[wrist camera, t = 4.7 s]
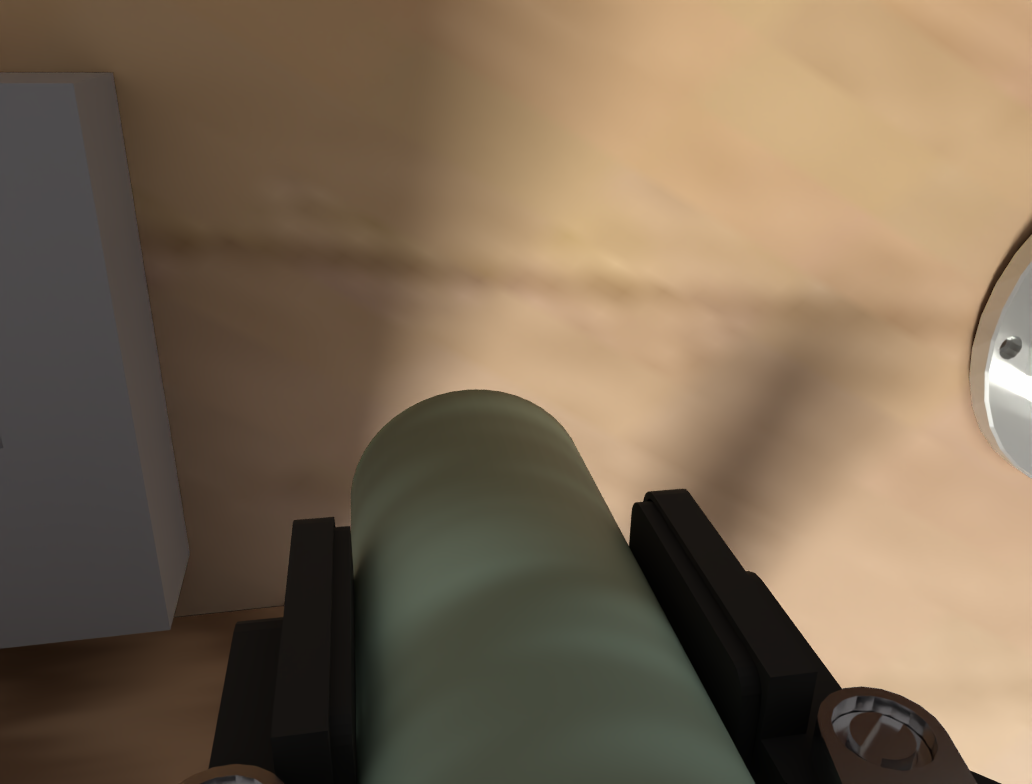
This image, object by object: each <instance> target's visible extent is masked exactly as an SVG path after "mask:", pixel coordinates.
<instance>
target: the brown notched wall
mask: <svg viewBox="0 0 1032 784" xmlns="http://www.w3.org/2000/svg"><path fill="white" fill-rule="evenodd" d="M283 614H284V606H278V607H268V608H259V609H250V610H240V611H231V612H222V613H212V614H203V615H194V616H185V617H175V618H173V621H172V625H171V629H170V630H165V631H156V632H147V633H138V634H129V635H120V636H111V637H101V638H92V639H83V640H74V641H65V642H56V643H47V644H38V645H29V646H20V647H11V648H1V649H0V784H179V783H181V782H182V781H184V780H185V779H187V778H189V777H190V776H192V775H194V774H197V773H200V772H202V771H205V770H208V768H209V762H210V757H211V752H212V746H213V741H214V735H215V730H216V724H217V719H218V713H219V708H220V702H221V697H222V692H223V686H224V681H225V675H226V670H227V664H228V659H229V653H230V648H231V642H232V637H233V632H234V628H235V624H236V623H237V622H238V621H247V620H258V619H268V618H278V617H283Z"/></svg>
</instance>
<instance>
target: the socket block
mask: <svg viewBox="0 0 1032 784" xmlns="http://www.w3.org/2000/svg"><path fill="white" fill-rule="evenodd" d="M189 555H190V551H189V545H188V538H187V532H186V526H185V520H184V513H183V507H182V501H181V495H180V488H179V482H178V476H177V470H176V463H175V457H174V451H173V445H172V438H171V432H170V426H169V420H168V413H167V407H166V401H165V395H164V388H163V382H162V376H161V370H160V363H159V357H158V351H157V345H156V338H155V332H154V326H153V320H152V313H151V307H150V301H149V295H148V288H147V282H146V276H145V270H144V263H143V257H142V251H141V245H140V238H139V232H138V226H137V220H136V213H135V207H134V201H133V195H132V188H131V182H130V176H129V170H128V163H127V157H126V151H125V145H124V138H123V132H122V126H121V120H120V113H119V107H118V101H117V95H116V88H115V82H114V76H113V73H93V72H0V649H1V648H11V647H20V646H29V645H38V644H47V643H56V642H65V641H74V640H83V639H92V638H101V637H111V636H120V635H129V634H138V633H147V632H156V631H165V630H170V629H171V625H172V621H173V618H174V614H175V610H176V606H177V602H178V598H179V594H180V590H181V586H182V582H183V578H184V574H185V570H186V566H187V563H188V559H189Z"/></svg>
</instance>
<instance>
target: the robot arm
mask: <svg viewBox="0 0 1032 784" xmlns="http://www.w3.org/2000/svg"><path fill="white" fill-rule="evenodd" d="M969 382H970V392H971V402H972V408H973V411H974V414H975V417H976V420H977V423H978V426H979V429H980V431H981V432H982V434H983V435H984V437H985V438H986V440H987V441H988V443H989V444H990V446H991V448H992V449H993V450H994V451H995V452H996V453H997V454H999V455H1000V456H1001V457H1002V458H1003V459H1004V460H1005V461H1006V462H1007V463H1009V464H1010V465H1011V466H1013V467H1014V468H1016V469H1018V470H1019V471H1021V472H1022V473H1024V474H1025V475H1027V476H1028V477H1030V478H1032V235H1031V236H1030V237H1029V238H1028V239H1027V240H1026V242H1025V243H1024V244H1023V245H1022V246H1021V248H1020V249H1019V250H1018V251H1017V252H1016V253H1015V255H1014V256H1013V258H1012V259H1011V261H1010V263H1009V264H1008V266H1007V267H1006V269H1005V270H1004V272H1003V274H1002V275H1001V277H1000V278H999V280H998V281H997V283H996V284H995V287H994V289H993V291H992V293H991V295H990V298H989V300H988V302H987V304H986V306H985V309H984V311H983V313H982V315H981V318H980V322H979V325H978V329H977V332H976V336H975V340H974V343H973V347H972V355H971V365H970V375H969ZM629 548H630V549H631V551H632V553H633V555H634V557H635V559H636V561H637V563H638V564H639V566H640V568H641V570H642V572H643V574H644V576H645V578H646V579H647V581H648V583H649V585H650V587H651V589H652V591H653V593H654V594H655V596H656V598H657V600H658V602H659V604H660V606H661V608H662V609H663V611H664V613H665V615H666V617H667V619H668V621H669V623H670V625H671V626H672V628H673V630H674V632H675V634H676V636H677V638H678V640H679V641H680V643H681V645H682V647H683V649H684V651H685V653H686V655H687V656H688V658H689V660H690V662H691V664H692V666H693V668H694V670H695V671H696V673H697V675H698V677H699V679H700V681H701V683H702V685H703V686H704V688H705V690H706V692H707V694H708V696H709V698H710V700H711V702H712V703H713V705H714V707H715V709H716V711H717V713H718V715H719V717H720V718H721V720H722V722H723V724H724V726H725V728H726V730H727V732H728V733H729V735H730V737H731V739H732V741H733V743H734V745H735V747H736V748H737V750H738V752H739V754H740V756H741V758H742V760H743V762H744V763H745V765H746V767H747V769H748V771H749V773H750V775H751V777H752V778H753V780H754V782H755V784H1001V783H998V782H996V781H994V780H991V779H989V778H987V777H984V776H982V775H979V774H977V773H975V772H972V771H970V770H969V769H968V767H967V765H966V763H965V762H964V760H963V758H962V757H961V755H960V753H959V752H958V750H957V748H956V747H955V745H954V743H953V741H952V740H951V738H950V736H949V735H948V733H947V732H946V730H945V729H944V728H943V726H942V725H941V724H940V723H939V721H938V720H937V719H936V718H935V717H934V716H933V715H931V714H930V713H929V712H928V711H926V710H925V709H924V708H923V707H921V706H920V705H918V704H916V703H915V702H913V701H911V700H909V699H907V698H905V697H903V696H901V695H898V694H895V693H892V692H889V691H886V690H883V689H877V688H869V687H851V688H843V689H842V688H841V687H840V686H839V684H838V683H837V681H836V680H835V679H834V677H833V676H832V675H831V673H830V672H829V671H828V669H827V668H826V667H825V665H824V664H823V662H822V661H821V660H820V658H819V657H818V656H817V654H816V653H815V652H814V650H813V649H812V648H811V646H810V645H809V643H808V642H807V641H806V639H805V638H804V637H803V635H802V634H801V633H800V631H799V630H798V629H797V627H796V626H795V624H794V623H793V622H792V620H791V619H790V618H789V616H788V615H787V614H786V612H785V611H784V609H783V608H782V607H781V605H780V604H779V603H778V601H777V600H776V599H775V597H774V596H773V595H772V593H771V592H770V590H769V589H768V588H767V586H766V585H765V584H764V582H763V581H762V580H761V579H760V578H759V577H758V576H757V575H756V574H755V573H753V572H750V571H745V570H744V568H743V567H742V566H741V564H740V563H739V561H738V560H737V559H736V557H735V556H734V554H733V553H732V552H731V550H730V549H729V547H728V546H727V545H726V543H725V542H724V541H723V539H722V538H721V536H720V535H719V534H718V532H717V531H716V529H715V528H714V527H713V525H712V524H711V522H710V521H709V520H708V518H707V517H706V515H705V514H704V513H703V511H702V510H701V509H700V507H699V506H698V504H697V503H696V502H695V500H694V499H693V497H692V496H691V495H690V493H689V492H688V491H687V490H686V489H675V490H663V491H650V492H647V493H646V494H645V497H644V501H643V502H636V503H634V505H633V508H632V515H631V528H630V542H629ZM179 784H357V749H356V677H355V605H354V570H353V557H352V543H351V530H350V526H345V527H335V520H334V517H327V518H315V519H302V520H294V521H293V528H292V537H291V547H290V556H289V566H288V575H287V585H286V594H285V604H284V614H283V617H278V618H268V619H258V620H247V621H238V622H237V623H236V624H235V628H234V632H233V637H232V642H231V648H230V653H229V659H228V664H227V670H226V675H225V681H224V686H223V692H222V697H221V702H220V708H219V713H218V719H217V724H216V730H215V735H214V741H213V746H212V752H211V757H210V762H209V768H208V770H205V771H202V772H200V773H197V774H194V775H192V776H190V777H189V778H187V779H185V780H184V781H182V782H181V783H179Z"/></svg>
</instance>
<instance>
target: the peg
mask: <svg viewBox="0 0 1032 784" xmlns="http://www.w3.org/2000/svg"><path fill="white" fill-rule="evenodd" d="M351 543H352V557H353V570H354V605H355V677H356V749H357V784H755V782H754V780H753V778H752V777H751V775H750V773H749V771H748V769H747V767H746V765H745V763H744V762H743V760H742V758H741V756H740V754H739V752H738V750H737V748H736V747H735V745H734V743H733V741H732V739H731V737H730V735H729V733H728V732H727V730H726V728H725V726H724V724H723V722H722V720H721V718H720V717H719V715H718V713H717V711H716V709H715V707H714V705H713V703H712V702H711V700H710V698H709V696H708V694H707V692H706V690H705V688H704V686H703V685H702V683H701V681H700V679H699V677H698V675H697V673H696V671H695V670H694V668H693V666H692V664H691V662H690V660H689V658H688V656H687V655H686V653H685V651H684V649H683V647H682V645H681V643H680V641H679V640H678V638H677V636H676V634H675V632H674V630H673V628H672V626H671V625H670V623H669V621H668V619H667V617H666V615H665V613H664V611H663V609H662V608H661V606H660V604H659V602H658V600H657V598H656V596H655V594H654V593H653V591H652V589H651V587H650V585H649V583H648V581H647V579H646V578H645V576H644V574H643V572H642V570H641V568H640V566H639V564H638V563H637V561H636V559H635V557H634V555H633V553H632V551H631V549H630V548H629V546H628V544H627V542H626V540H625V538H624V536H623V534H622V533H621V531H620V529H619V527H618V525H617V523H616V521H615V519H614V517H613V516H612V514H611V512H610V510H609V508H608V506H607V504H606V502H605V501H604V499H603V497H602V495H601V493H600V491H599V489H598V487H597V486H596V484H595V482H594V480H593V478H592V476H591V474H590V472H589V471H588V469H587V467H586V465H585V463H584V461H583V459H582V457H581V456H580V454H579V452H578V450H577V448H576V446H575V444H574V442H573V441H572V439H571V437H570V436H569V434H568V433H567V432H566V430H565V429H564V427H563V426H562V425H561V424H560V423H559V422H558V421H557V420H556V419H555V418H554V417H553V416H552V415H550V414H549V413H548V412H546V411H545V410H544V409H542V408H541V407H539V406H537V405H535V404H534V403H532V402H530V401H528V400H525V399H523V398H520V397H518V396H515V395H512V394H508V393H504V392H499V391H491V390H462V391H454V392H449V393H445V394H441V395H437V396H434V397H431V398H429V399H426V400H423V401H421V402H419V403H417V404H415V405H413V406H411V407H409V408H408V409H406V410H405V411H403V412H402V413H400V414H399V415H397V416H396V417H394V418H393V419H392V420H391V421H390V422H389V423H387V424H386V425H385V426H384V427H383V428H382V429H381V430H380V431H379V432H378V434H377V435H376V436H375V437H374V438H373V439H372V441H371V442H370V444H369V445H368V447H367V448H366V450H365V451H364V453H363V455H362V457H361V459H360V461H359V463H358V465H357V468H356V472H355V475H354V478H353V483H352V489H351Z"/></svg>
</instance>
